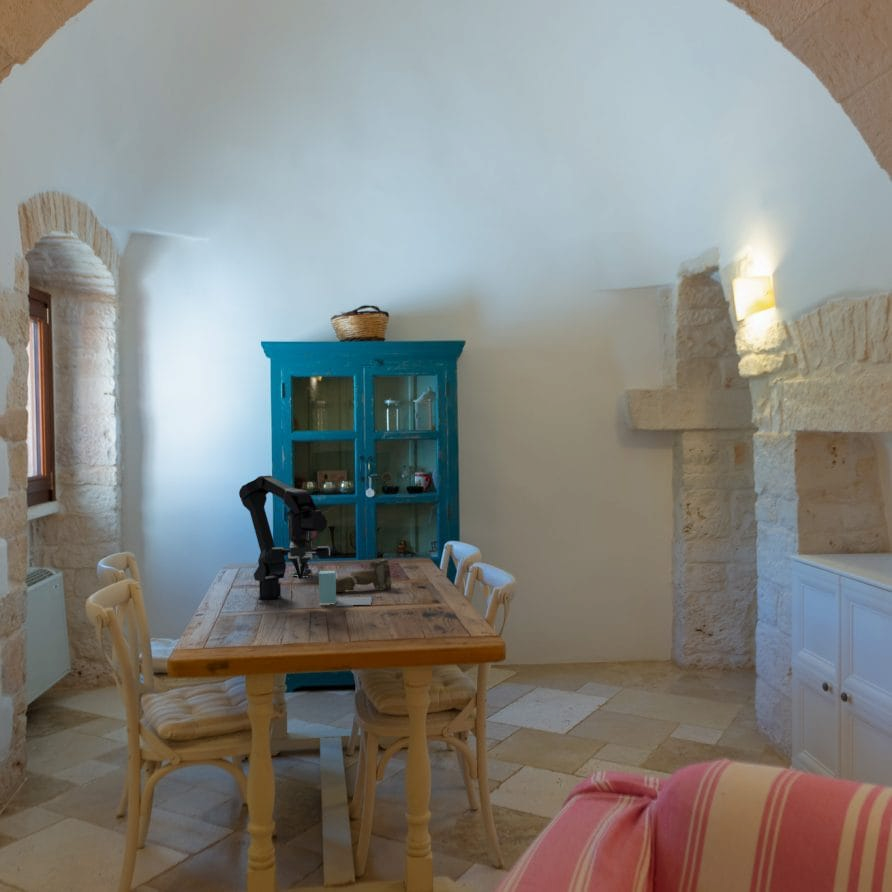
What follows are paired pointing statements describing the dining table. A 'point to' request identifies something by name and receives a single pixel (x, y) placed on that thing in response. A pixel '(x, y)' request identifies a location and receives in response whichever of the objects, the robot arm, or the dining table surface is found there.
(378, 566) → the sculpture
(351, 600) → the felt mat
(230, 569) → the dining table surface
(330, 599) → the teal block
